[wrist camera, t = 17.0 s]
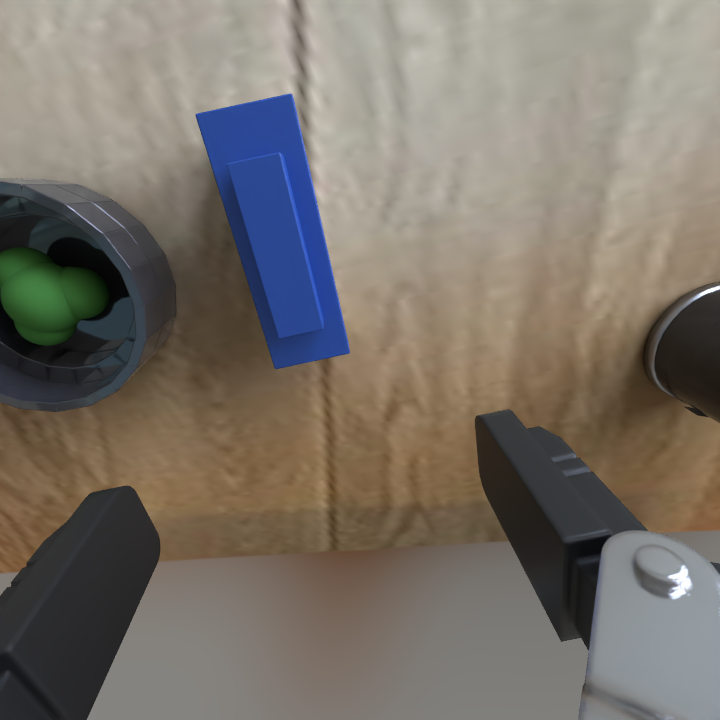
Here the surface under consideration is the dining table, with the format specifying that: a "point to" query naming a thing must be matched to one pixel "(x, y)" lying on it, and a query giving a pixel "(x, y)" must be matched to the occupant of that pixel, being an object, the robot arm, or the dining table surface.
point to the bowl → (93, 335)
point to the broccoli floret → (48, 295)
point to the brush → (276, 227)
